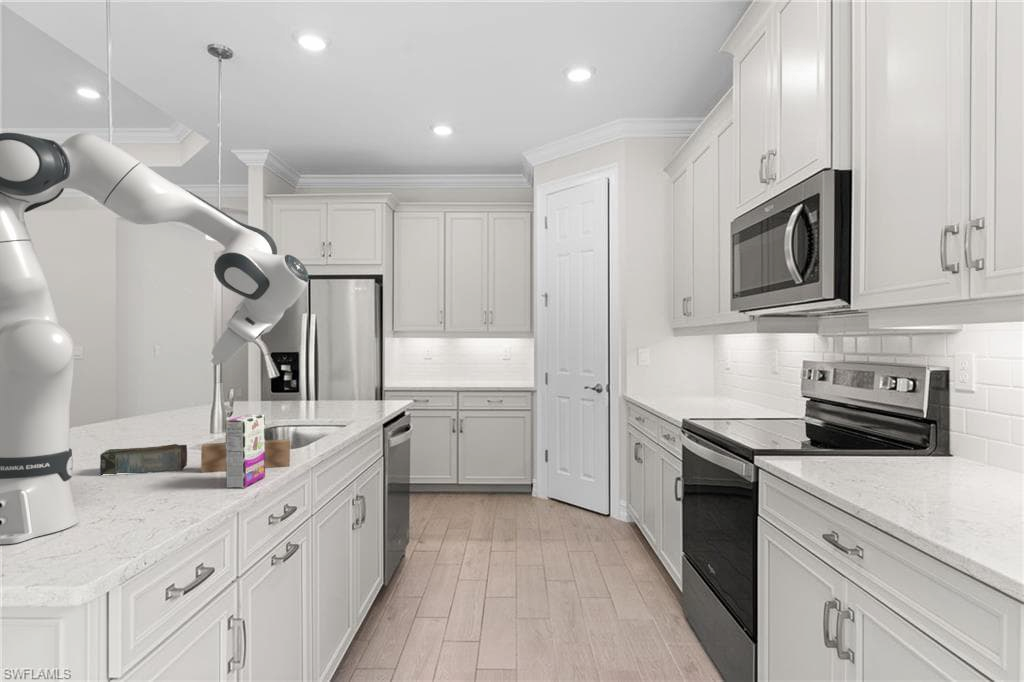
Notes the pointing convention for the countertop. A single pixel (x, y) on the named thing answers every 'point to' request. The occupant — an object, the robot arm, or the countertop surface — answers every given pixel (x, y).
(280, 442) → the wooden block
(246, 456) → the candy bar box
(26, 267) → the robot arm
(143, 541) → the countertop surface
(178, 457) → the beverage carton
